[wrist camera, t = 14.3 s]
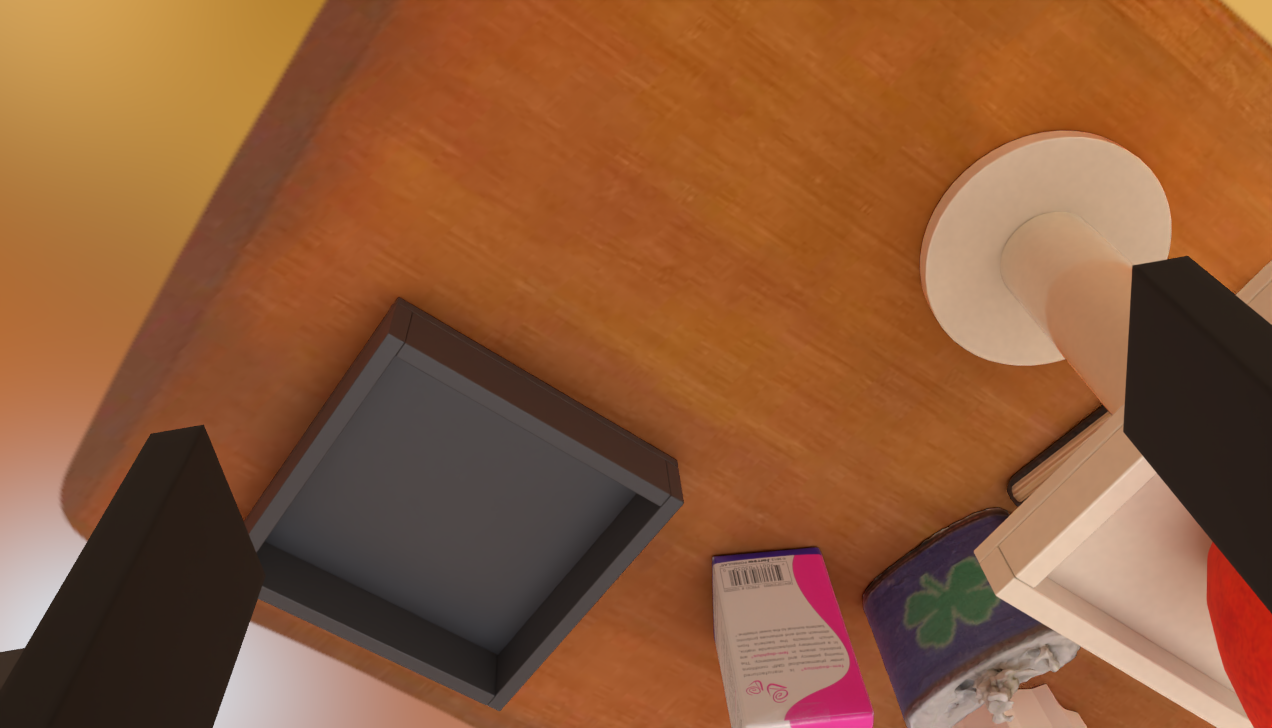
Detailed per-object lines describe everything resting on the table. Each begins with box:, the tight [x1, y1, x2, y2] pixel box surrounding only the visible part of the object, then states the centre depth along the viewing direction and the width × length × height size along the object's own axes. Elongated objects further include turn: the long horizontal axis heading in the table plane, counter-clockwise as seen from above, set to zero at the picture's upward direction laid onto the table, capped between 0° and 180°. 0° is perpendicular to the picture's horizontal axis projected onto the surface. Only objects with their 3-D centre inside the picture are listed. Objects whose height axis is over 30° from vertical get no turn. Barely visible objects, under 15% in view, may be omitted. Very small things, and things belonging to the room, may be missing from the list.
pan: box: [244, 298, 684, 711], centre depth 54 cm, size 16×16×4 cm
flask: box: [863, 507, 1080, 728], centre depth 55 cm, size 9×3×11 cm, turn 129°
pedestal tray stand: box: [920, 130, 1272, 728], centre depth 42 cm, size 13×13×22 cm
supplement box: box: [712, 548, 874, 728], centre depth 55 cm, size 6×6×12 cm
